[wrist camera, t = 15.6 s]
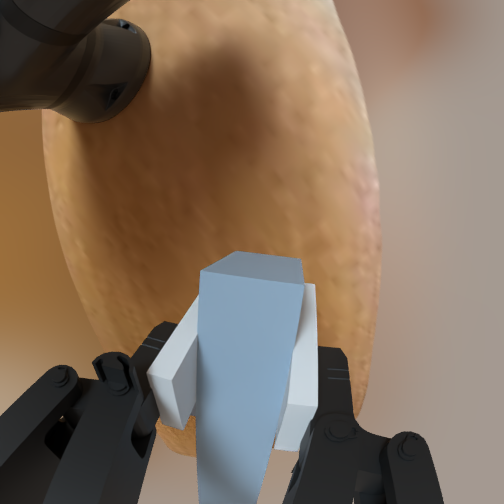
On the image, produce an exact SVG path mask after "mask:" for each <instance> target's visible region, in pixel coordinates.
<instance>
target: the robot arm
mask: <svg viewBox="0 0 504 504" xmlns="http://www.w3.org/2000/svg"><path fill="white" fill-rule="evenodd" d="M128 1H130V0H0V112H4V111H14V110H31V109H52V110H54V111H56V112H58V113H60V114H62V115H64V116H66V117H68V118H69V119H71V120H74V121H76V122H81V123H98V122H103V121H106V120H108V119H110V118H112V117H113V116H115V115H116V114H118V113H119V112H120V111H122V110H123V109H124V108H125V107H126V106H127V105H128V104H129V103H130V101H131V100H132V99H133V98H134V96H135V95H136V93H137V92H138V90H139V88H140V87H141V85H142V83H143V81H144V78H145V76H146V73H147V70H148V66H149V61H150V44H149V40H148V38H147V36H146V34H145V32H144V31H143V30H142V29H141V28H140V27H138V26H136V25H135V24H133V23H131V22H129V21H126V20H123V19H108V18H107V17H109V16H110V15H111V14H112V13H114V12H115V11H116V10H117V9H119V8H120V7H121V6H123V5H124V4H126V3H127V2H128ZM304 284H305V286H304V293H303V299H302V306H301V312H300V318H299V323H298V329H297V335H296V340H295V346H294V349H293V352H292V358H291V363H290V368H289V373H288V378H287V382H286V387H285V392H284V396H283V401H282V405H281V410H280V414H279V420H278V427H277V433H276V439H275V445H274V449H276V450H284V451H295V452H297V451H298V449H299V447H300V451H299V459H298V461H297V463H296V465H295V467H294V468H293V470H292V472H291V473H293V474H292V477H291V480H290V483H289V486H288V489H287V492H286V495H285V498H284V501H283V503H282V504H352V502H353V497H354V504H444V502H443V497H442V493H441V489H440V486H439V482H438V478H437V474H436V470H435V467H434V464H433V460H432V457H431V454H430V450H429V447H428V445H427V443H426V441H425V440H424V438H422V437H421V436H420V435H419V434H416V433H414V432H401V433H398V434H396V435H395V436H394V437H393V438H387V437H382V436H379V435H375V434H372V433H369V432H367V431H365V430H364V429H362V428H361V427H360V426H359V424H358V423H357V421H356V420H355V418H354V413H353V404H352V394H351V385H350V380H349V379H350V377H349V371H348V361H347V357H346V356H345V354H344V353H343V351H342V350H341V349H340V348H332V347H321V346H318V343H317V314H316V294H315V284H310V283H304ZM198 302H199V295H198V296H197V298H196V299H195V301H194V302H193V304H192V305H191V307H190V308H189V309H188V311H187V312H186V314H185V315H184V317H183V318H182V320H181V321H180V323H179V324H175V323H170V322H166V321H164V322H163V323H161V324H159V325H158V326H156V327H154V328H153V330H152V331H151V332H150V334H149V335H148V337H147V338H146V339H145V340H144V341H143V343H142V345H140V347H139V348H138V349H137V351H136V352H135V353H134V355H133V356H132V357H131V358H130V357H129V356H128V355H126V354H123V353H121V352H108V353H104V354H102V355H100V356H98V357H97V358H96V359H95V360H94V361H93V362H92V364H93V366H94V369H95V371H96V374H97V376H98V378H99V380H94V379H86V378H79V377H78V374H77V372H76V371H75V370H74V369H73V368H72V367H70V366H67V365H58V366H55V367H53V368H51V369H49V370H48V371H47V372H46V373H45V374H44V375H43V376H42V377H40V378H39V379H38V380H37V381H36V382H35V383H34V384H33V385H32V386H31V387H30V388H29V389H28V390H27V391H26V392H24V393H23V394H22V395H21V396H20V397H19V398H18V399H17V400H16V401H15V402H14V403H13V404H12V405H11V406H10V407H9V408H8V409H7V410H6V411H5V412H4V413H3V414H2V415H1V416H0V504H137V503H138V499H139V495H140V492H141V487H142V484H143V480H144V476H145V473H146V469H147V465H148V462H149V458H150V455H151V451H152V447H153V444H154V440H155V437H156V427H155V424H156V422H157V420H158V418H159V416H160V419H161V421H162V424H164V425H167V426H170V427H173V428H177V429H180V430H184V428H185V425H186V423H187V421H188V419H189V416H190V414H191V412H192V409H193V407H194V405H195V402H196V381H197V341H198V333H197V322H198ZM62 416H63V418H61V417H62ZM60 418H61V419H60Z"/></svg>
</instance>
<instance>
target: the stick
mask: <svg viewBox="0 0 504 504" xmlns="http://www.w3.org/2000/svg"><path fill="white" fill-rule="evenodd" d="M304 286H305V284H304V276H303V269H302V263H301V259H298V258H290V257H282V256H274V255H266V254H258V253H250V252H242V251H235V252H233V253H231V254H230V255H228V256H226V257H224V258H222V259H221V260H219V261H217V262H215V263H213V264H212V265H210V266H208V267H206V268H204V269H203V270H201V271H200V285H199V302H198V322H197V333H198V341H197V381H196V453H197V476H198V493H199V504H256V502H257V499H258V496H259V492H260V489H261V486H262V482H263V479H264V475H265V472H266V468H267V465H268V460H269V457H270V453H271V450H272V446H273V442H274V438H275V434H276V430H277V426H278V420H279V414H280V410H281V405H282V401H283V396H284V392H285V387H286V382H287V378H288V373H289V368H290V363H291V358H292V352H293V349H294V346H295V340H296V335H297V329H298V323H299V318H300V312H301V306H302V299H303V293H304Z"/></svg>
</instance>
